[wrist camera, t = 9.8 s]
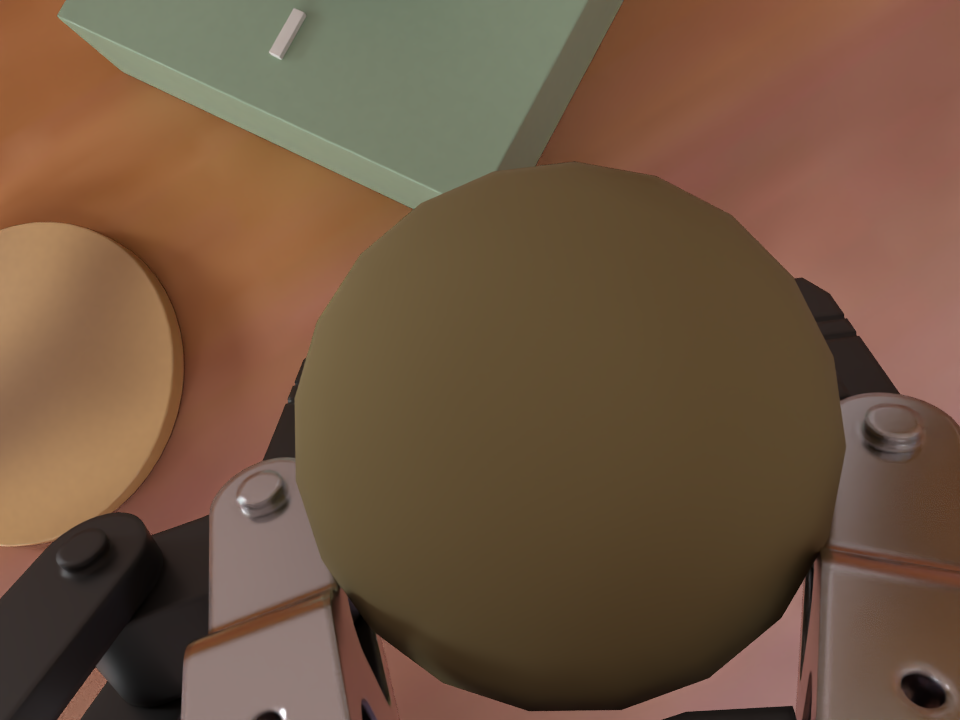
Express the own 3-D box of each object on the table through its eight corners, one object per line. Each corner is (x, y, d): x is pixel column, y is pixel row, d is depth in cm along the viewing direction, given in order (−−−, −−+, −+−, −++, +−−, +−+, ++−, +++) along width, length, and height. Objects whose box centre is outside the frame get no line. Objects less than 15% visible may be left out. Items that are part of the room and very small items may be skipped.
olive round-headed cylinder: (422, 356, 17) (140, 161, 6) (673, 294, 16) (827, -40, 6) (475, 615, 16) (240, 903, 5) (746, 560, 15) (1111, 762, 5)
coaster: (-155, 447, 23) (-175, 446, 23) (1, 179, 24) (-14, 172, 23) (77, 607, 21) (62, 611, 20) (242, 309, 22) (232, 305, 21)
